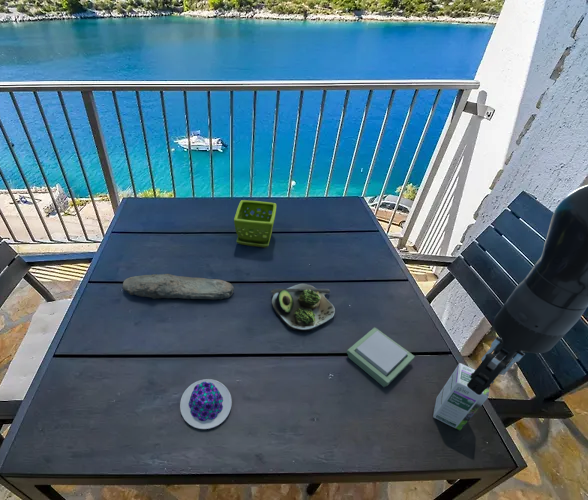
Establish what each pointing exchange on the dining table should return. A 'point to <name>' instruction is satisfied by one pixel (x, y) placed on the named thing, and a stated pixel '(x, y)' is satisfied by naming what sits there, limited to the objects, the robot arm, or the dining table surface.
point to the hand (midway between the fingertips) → (486, 375)
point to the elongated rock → (177, 287)
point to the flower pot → (254, 223)
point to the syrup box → (458, 399)
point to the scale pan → (381, 353)
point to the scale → (370, 368)
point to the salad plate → (302, 306)
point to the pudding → (205, 404)
